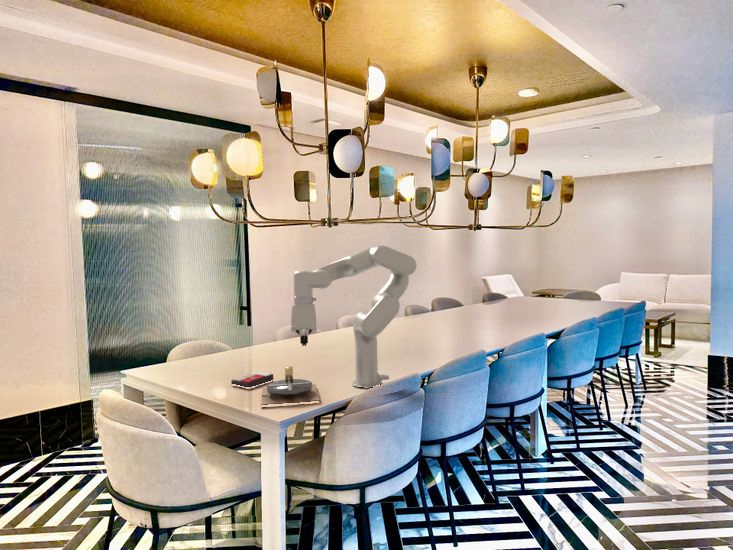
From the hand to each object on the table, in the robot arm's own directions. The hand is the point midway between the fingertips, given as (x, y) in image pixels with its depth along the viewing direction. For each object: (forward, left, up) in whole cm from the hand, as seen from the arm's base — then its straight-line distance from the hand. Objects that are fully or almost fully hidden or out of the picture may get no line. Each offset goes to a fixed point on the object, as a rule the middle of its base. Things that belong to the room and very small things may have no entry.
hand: (304, 345), depth 209 cm
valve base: (+7, +7, -19) cm, 22 cm away
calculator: (+22, -18, -20) cm, 35 cm away
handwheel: (+7, +7, -18) cm, 20 cm away
